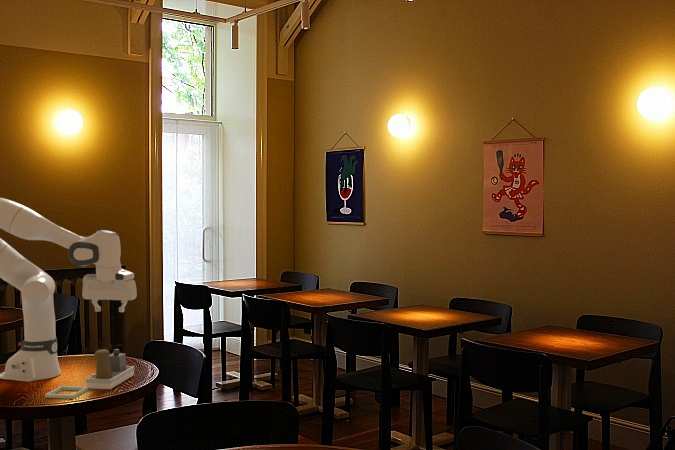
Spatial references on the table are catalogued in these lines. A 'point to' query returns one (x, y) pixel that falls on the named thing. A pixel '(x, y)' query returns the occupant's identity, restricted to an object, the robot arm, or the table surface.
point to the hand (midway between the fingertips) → (109, 311)
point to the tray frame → (53, 395)
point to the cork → (103, 364)
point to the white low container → (109, 383)
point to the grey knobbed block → (117, 361)
